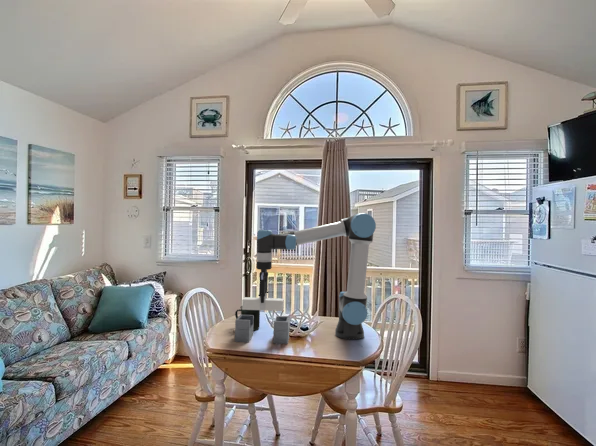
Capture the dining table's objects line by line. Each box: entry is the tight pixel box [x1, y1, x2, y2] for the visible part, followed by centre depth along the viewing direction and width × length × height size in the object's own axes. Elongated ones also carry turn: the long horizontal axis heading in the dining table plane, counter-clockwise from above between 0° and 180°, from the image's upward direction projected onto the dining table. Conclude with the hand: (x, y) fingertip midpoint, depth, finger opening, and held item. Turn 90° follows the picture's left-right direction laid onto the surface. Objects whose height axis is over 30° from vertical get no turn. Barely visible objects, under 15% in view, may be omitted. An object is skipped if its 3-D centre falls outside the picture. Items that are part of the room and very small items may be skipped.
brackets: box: [234, 313, 291, 345], centre depth 176 cm, size 26×11×10 cm, turn 87°
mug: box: [234, 305, 261, 332], centre depth 194 cm, size 11×15×12 cm
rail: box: [241, 296, 285, 312], centre depth 174 cm, size 20×5×5 cm, turn 86°
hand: (263, 307), depth 174 cm, fingers closed on rail, 5 cm apart
